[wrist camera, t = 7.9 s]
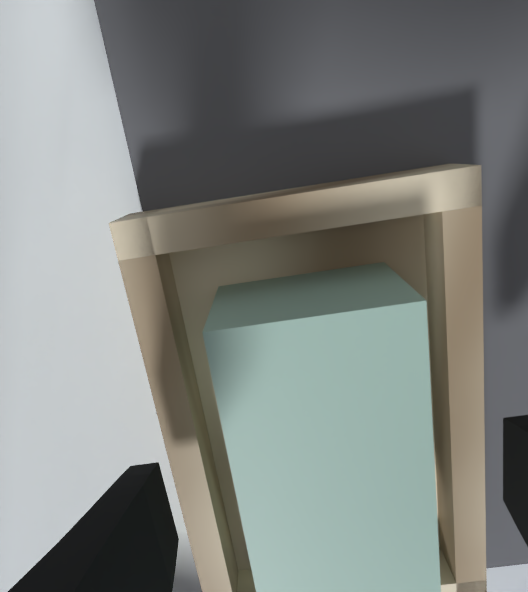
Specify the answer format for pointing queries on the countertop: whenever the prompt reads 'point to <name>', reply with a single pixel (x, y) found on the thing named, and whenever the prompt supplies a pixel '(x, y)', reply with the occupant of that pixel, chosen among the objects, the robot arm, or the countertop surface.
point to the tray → (300, 260)
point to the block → (329, 429)
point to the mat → (344, 132)
